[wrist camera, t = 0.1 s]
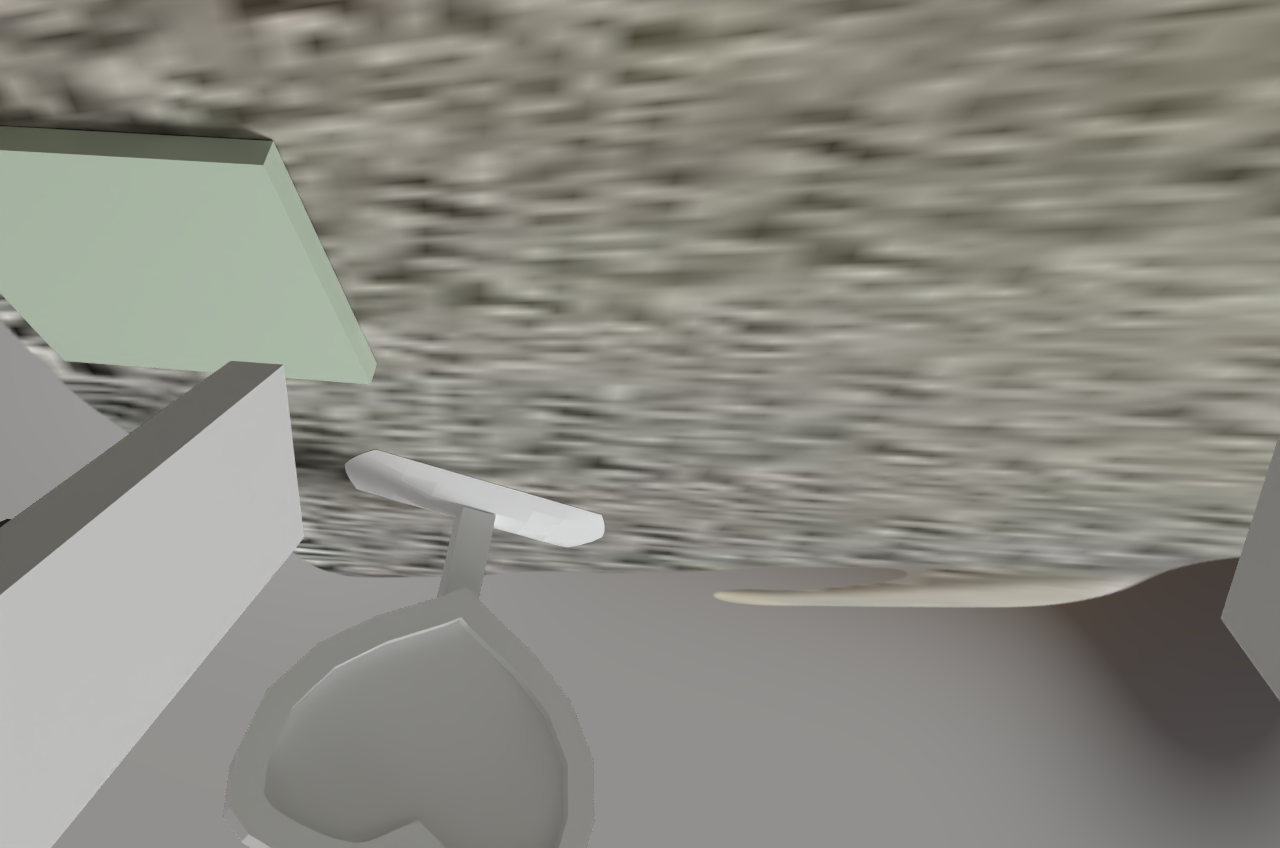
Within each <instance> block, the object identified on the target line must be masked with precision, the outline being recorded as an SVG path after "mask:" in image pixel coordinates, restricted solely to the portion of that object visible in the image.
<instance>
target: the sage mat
mask: <svg viewBox="0 0 1280 848" xmlns="http://www.w3.org/2000/svg"><path fill="white" fill-rule="evenodd" d="M0 293H1V294H2V295H3V297H4V298H5V299H6V300H7V301H8V302H9V303H10V304H11V305H12V306H13V307H14V308H15V309H16V310H17V311H18V313H19V314H20V315H21V316H22V317H23V318H24V319H25V320H26V321H27V322H28V323H29V324H30V325H31V326H32V328H33V329H34V330H35V331H36V332H37V333H38V334H39V335H40V336H41V337H42V338H43V339H44V340H45V341H46V342H47V344H48V345H49V346H50V347H51V348H52V349H53V350H54V351H55V352H56V353H57V354H58V355H59V356H60V357H61V359H62V360H63V361H72V362H85V363H98V364H111V365H125V366H138V367H151V368H164V369H177V370H190V371H203V372H216V371H217V370H219V369H220V368H221V367H223V366H224V365H225V364H227V363H228V362H230V361H241V362H254V363H268V364H282V365H284V372H285V378H295V379H308V380H321V381H334V382H347V383H361V384H371V381H372V378H373V374H374V371H375V368H376V364H377V363H376V361H375V359H374V357H373V355H372V352H371V350H370V348H369V346H368V344H367V342H366V339H365V337H364V335H363V333H362V331H361V329H360V327H359V324H358V322H357V320H356V318H355V316H354V314H353V312H352V309H351V307H350V305H349V303H348V301H347V299H346V296H345V294H344V292H343V290H342V288H341V286H340V284H339V281H338V279H337V277H336V275H335V273H334V271H333V269H332V266H331V264H330V262H329V260H328V258H327V256H326V253H325V251H324V249H323V247H322V245H321V243H320V241H319V238H318V236H317V234H316V232H315V230H314V228H313V226H312V223H311V221H310V219H309V217H308V215H307V213H306V211H305V208H304V206H303V204H302V202H301V200H300V198H299V195H298V193H297V191H296V189H295V187H294V185H293V183H292V180H291V178H290V176H289V174H288V172H287V170H286V168H285V165H284V163H283V161H282V159H281V157H280V155H279V152H278V150H277V148H276V146H275V144H274V142H273V141H263V140H245V139H226V138H208V137H190V136H172V135H153V134H135V133H117V132H98V131H80V130H62V129H44V128H25V127H7V126H0Z"/></svg>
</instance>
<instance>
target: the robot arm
mask: <svg viewBox="0 0 1280 848" xmlns="http://www.w3.org/2000/svg"><path fill="white" fill-rule="evenodd" d="M303 538H304V534H303V525H302V517H301V508H300V500H299V491H298V483H297V474H296V465H295V457H294V448H293V440H292V431H291V423H290V414H289V406H288V397H287V389H286V380H285V372H284V365H282V364H268V363H254V362H241V361H230V362H228V363H227V364H225V365H224V366H223V367H221V368H220V369H219V370H217V371H216V372H214V373H213V374H212V375H210V376H209V377H207V378H206V379H205V380H203V381H202V382H201V383H199V384H198V385H196V386H195V387H194V388H192V389H191V390H190V391H188V392H187V393H185V394H184V395H183V396H181V397H180V398H178V399H177V400H176V401H174V402H173V403H172V404H170V405H169V406H167V407H166V408H165V409H163V410H162V411H161V412H159V413H158V414H156V415H155V416H154V417H152V418H151V419H149V420H148V421H147V422H145V423H144V424H143V425H141V426H140V427H138V428H137V429H136V430H134V431H133V432H132V433H130V434H129V435H127V436H126V437H125V438H123V439H122V440H120V441H119V442H118V443H116V444H115V445H114V446H112V447H111V448H109V449H108V450H107V451H105V452H104V453H103V454H101V455H100V456H98V457H97V458H96V459H94V460H93V461H92V462H90V463H89V464H87V465H86V466H85V467H83V468H82V469H80V470H79V471H78V472H76V473H75V474H73V475H72V476H71V477H69V478H68V479H67V480H65V481H64V482H62V483H61V484H60V485H58V486H57V487H56V488H54V489H53V490H51V491H50V492H49V493H47V494H46V495H44V496H43V497H42V498H40V499H39V500H38V501H36V502H35V503H33V504H32V505H31V506H30V507H28V508H27V509H25V510H24V511H22V512H21V513H20V514H18V515H17V516H15V517H14V518H13V519H6V520H4V521H1V522H0V848H51V847H52V846H53V844H54V843H55V842H56V841H57V840H58V838H59V837H60V836H61V835H62V833H63V832H64V831H65V830H66V829H67V827H68V826H69V825H70V824H71V822H72V821H73V820H74V819H75V817H76V816H77V815H78V814H79V813H80V811H81V810H82V809H83V808H84V806H85V805H86V804H87V803H88V802H89V800H90V799H91V798H92V797H93V795H94V794H95V793H96V792H97V791H98V789H99V788H100V787H101V786H102V784H103V783H104V782H105V781H106V780H107V778H108V777H109V776H110V775H111V773H112V772H113V771H114V770H115V769H116V767H117V766H118V765H119V763H120V762H121V761H122V760H123V759H124V757H125V756H126V755H127V753H129V751H130V750H131V749H132V748H133V746H134V745H135V744H136V743H137V742H138V740H139V739H140V738H141V737H142V735H143V734H144V733H145V732H146V731H147V729H148V728H149V727H150V726H151V724H152V723H153V722H154V721H155V719H156V718H157V717H158V716H159V715H160V713H161V712H162V711H163V710H164V708H165V707H166V706H167V705H168V704H169V702H170V701H171V700H172V699H173V697H174V696H175V695H176V694H177V692H178V691H179V690H180V689H181V688H182V686H183V685H184V684H185V683H186V681H187V680H188V679H189V678H190V676H191V675H192V674H193V673H194V672H195V670H196V669H197V668H198V667H199V665H200V664H201V663H202V662H203V661H204V659H205V658H206V657H207V656H208V655H209V653H210V652H211V651H212V649H213V648H214V647H215V646H216V645H217V643H218V642H219V641H220V640H221V638H222V637H223V636H224V635H225V634H226V632H227V631H228V630H229V629H230V627H231V626H232V625H233V624H234V623H235V621H236V620H237V619H238V618H239V616H240V615H241V614H242V613H243V611H244V610H245V609H246V608H247V607H248V605H249V604H250V603H251V602H252V600H253V599H254V598H255V597H256V596H257V594H258V593H259V592H260V591H261V589H262V588H263V587H264V586H265V585H266V583H267V582H268V581H269V580H270V579H271V577H272V576H273V575H274V573H275V572H276V571H277V570H278V568H279V567H280V566H281V565H282V564H283V563H284V561H285V560H286V559H287V558H288V556H289V555H290V554H291V553H292V552H293V550H294V549H295V548H296V547H297V545H298V544H299V543H300V542H301V541H302V539H303ZM1221 620H1222V621H1223V622H1224V624H1225V625H1226V627H1227V628H1228V629H1229V631H1230V632H1231V634H1232V635H1233V636H1234V638H1235V639H1236V641H1237V642H1238V643H1239V645H1240V646H1241V647H1242V649H1243V650H1244V652H1245V653H1246V654H1247V656H1248V657H1249V659H1250V660H1251V662H1252V663H1253V664H1254V666H1255V667H1256V668H1257V670H1258V671H1259V673H1260V674H1261V676H1262V677H1263V678H1264V680H1265V681H1266V682H1267V684H1268V685H1269V687H1270V688H1271V689H1272V691H1273V692H1274V694H1275V695H1276V697H1277V698H1278V699H1279V701H1280V437H1279V438H1278V441H1277V444H1276V447H1275V450H1274V454H1273V457H1272V460H1271V463H1270V466H1269V469H1268V472H1267V475H1266V478H1265V482H1264V485H1263V488H1262V491H1261V494H1260V497H1259V500H1258V503H1257V507H1256V510H1255V513H1254V516H1253V519H1252V522H1251V525H1250V528H1249V531H1248V535H1247V538H1246V541H1245V544H1244V547H1243V550H1242V553H1241V556H1240V560H1239V563H1238V566H1237V569H1236V573H1235V576H1234V578H1233V582H1232V585H1231V588H1230V591H1229V594H1228V597H1227V600H1226V603H1225V607H1224V609H1223V613H1222V616H1221Z"/></svg>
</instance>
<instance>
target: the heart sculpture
mask: <svg viewBox="0 0 1280 848" xmlns="http://www.w3.org/2000/svg"><path fill="white" fill-rule="evenodd" d="M345 471H346V473H347V475H348V477H349V479H350V481H351V482H352V483H353V485H354V486H355V488H356V489H358V490H361V491H364V492H368V493H371V494H374V495H378V496H381V497H384V498H388V499H391V500H395V501H399V502H402V503H406V504H409V505H413V506H417V507H420V508H424V509H427V510H431V511H435V512H438V513H442V514H446V515H449V516H453V517H455V520H454V525H453V529H452V534H451V538H450V542H449V547H448V551H447V556H446V560H445V565H444V569H443V573H442V578H441V583H440V587H439V591H438V596H437V598H436V599H432V600H429V601H425V602H422V603H418V604H415V605H412V606H408V607H404V608H401V609H398V610H394V611H391V612H387V613H384V614H381V615H377V616H375V617H373V618H371V619H368V620H367V621H364V622H362V623H360V624H358V625H356V626H353V627H351V628H349V629H347V630H345V631H343V632H341V633H339V634H336V635H334V636H332V637H330V638H328V639H326V640H324V641H322V642H319V643H318V644H317V645H316V646H315V647H314V648H312V649H311V650H310V651H309V652H308V653H307V654H306V655H305V656H304V657H303V658H302V659H300V660H299V661H298V662H297V663H296V664H295V665H294V666H293V667H292V668H290V669H289V670H288V671H287V672H286V673H285V674H284V675H283V676H282V677H280V679H278V680H277V681H276V682H275V683H274V684H273V685H272V686H271V687H270V688H268V689H267V690H266V693H265V694H264V696H263V699H262V701H261V703H260V705H259V707H258V709H257V711H256V713H255V715H254V717H253V719H252V721H251V723H250V725H249V727H248V729H247V731H246V733H245V735H244V737H243V740H242V742H241V744H240V746H239V748H238V750H237V752H236V754H235V756H234V758H233V760H232V762H231V764H230V768H229V775H228V782H227V789H226V797H225V803H224V811H223V817H224V818H225V820H226V821H227V823H228V824H229V825H230V827H231V828H232V830H233V831H234V833H235V834H236V835H237V837H238V838H239V840H240V841H241V842H242V843H243V844H246V845H247V846H249V847H250V848H587V846H588V842H589V839H590V835H591V832H592V828H593V824H594V767H593V765H594V762H593V757H592V754H591V752H590V749H589V746H588V744H587V741H586V739H585V736H584V734H583V731H582V729H581V726H580V723H579V721H578V718H577V716H576V713H575V711H574V708H573V705H572V703H571V701H570V699H569V698H568V697H567V695H566V694H565V693H564V691H563V690H562V689H561V687H560V686H559V685H558V684H557V682H556V681H555V680H554V678H553V677H552V676H551V675H550V673H549V672H548V671H547V669H546V668H545V667H544V665H543V664H542V663H541V662H540V660H539V659H538V658H537V656H536V655H535V654H534V653H533V652H532V651H531V650H530V649H529V648H528V647H527V646H526V645H525V644H524V643H523V642H521V640H520V639H519V638H517V637H516V636H515V635H514V634H513V633H512V632H511V631H510V630H509V629H508V628H507V627H506V626H505V625H504V624H503V623H502V622H501V621H500V620H499V619H498V618H497V617H496V616H495V615H494V614H492V613H491V612H490V611H489V610H488V608H487V607H486V606H485V605H484V604H483V603H482V602H481V601H480V600H479V595H480V590H481V586H482V580H483V576H484V571H485V566H486V561H487V556H488V551H489V546H490V542H491V537H492V532H493V528H496V529H500V530H504V531H507V532H511V533H514V534H518V535H522V536H525V537H529V538H533V539H536V540H540V541H544V542H548V543H552V544H556V545H560V546H564V547H572V546H576V545H581V544H585V543H588V542H592V541H594V540H597V539H599V538H601V537H602V536H603V533H604V531H605V530H604V521H603V518H602V515H600V514H596V513H593V512H589V511H586V510H582V509H579V508H576V507H572V506H569V505H565V504H562V503H558V502H555V501H551V500H548V499H544V498H541V497H538V496H534V495H531V494H527V493H524V492H520V491H517V490H513V489H510V488H506V487H503V486H500V485H496V484H493V483H489V482H486V481H482V480H479V479H475V478H472V477H469V476H465V475H462V474H458V473H455V472H451V471H448V470H444V469H441V468H437V467H434V466H431V465H427V464H424V463H420V462H417V461H413V460H410V459H406V458H403V457H399V456H396V455H393V454H389V453H386V452H382V451H379V450H372V451H369V452H366V453H363V454H361V455H358V456H356V457H354V458H352V459H350V460H349V461H348V462H347V463H345Z"/></svg>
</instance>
